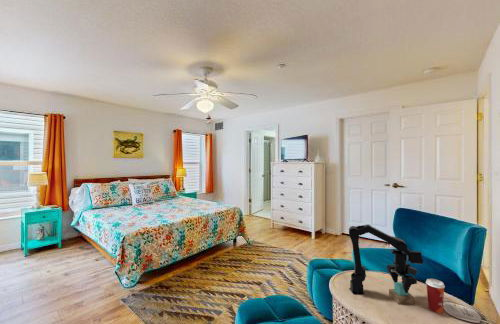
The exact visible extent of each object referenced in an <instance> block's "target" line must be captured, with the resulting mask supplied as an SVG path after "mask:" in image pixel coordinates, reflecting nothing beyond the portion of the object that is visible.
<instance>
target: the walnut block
mask: <svg viewBox="0 0 500 324" xmlns="http://www.w3.org/2000/svg"><path fill="white" fill-rule="evenodd" d="M388 296H389V297H390V298H391V299H392V300H394V301H395V303H396V304H398V305H411V304H412V305H415V296H414V295H412V294H411V293H409V292H408V295H399V294H397V293H396V292H395V291H394V288H389V289H388Z"/></svg>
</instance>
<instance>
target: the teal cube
mask: <svg viewBox="0 0 500 324" xmlns="http://www.w3.org/2000/svg"><path fill="white" fill-rule="evenodd" d="M393 289H394V291H395V292H396V293H397V294H399V295H408V293H409V292H408V293H405V291H404V288H403V284H402V281H398V282H394V281H393Z"/></svg>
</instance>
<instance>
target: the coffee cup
mask: <svg viewBox="0 0 500 324" xmlns="http://www.w3.org/2000/svg"><path fill="white" fill-rule="evenodd" d="M425 284H426V292H427V293H426V294H427V302H428V304H427V305H428V309H429V311H431V312H434V313H436V314H443V312H444V302H445V301H444V297H445V296H444V295H445V288H446V286H445V284H444V282H443V281H441V280H438V279H435V278H427V279H426V281H425Z"/></svg>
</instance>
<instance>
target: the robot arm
mask: <svg viewBox="0 0 500 324" xmlns="http://www.w3.org/2000/svg"><path fill="white" fill-rule="evenodd" d="M368 233H369V234H371V235H372V236H374V237H376V238H378V239H381V240H382V241H384V242H386V243H387V244H389V245H391V246H392V247H393V249H391V250H390V253H391V255H393V254H394V261H393V262H392V264H387V265H386V270H387V272H388V273H389V275H390V277H391V280H392V281H393V283H394V282H399V281H398V280H399V279H398V277H399V276H401V282H402V284H403V288H404V291H405V293H409V290H410V288H411V287H412V285H417V284H418V280H417V279H416V278H415V277H414V276H416V275H417V273H418V270H417V269H416V268H414V267H413V266H411V264H416V265H423V264H424V259H423V256H422V252H421V251H420V250H419V251H418V250H416V251H414V250H410V249H409V248H408V245H407V243H406V242H405V241H404V240H403V239H402V238H399V237H396V236H391V235H389V234H387V233H385V232H384V231H381V230H380V229H378V228H376V227H374V226H372V225H370V224H363V225H357V226H354V225H352V226H349V228H348V235H349V238H350V240H351V241H350V242H351V244H352V250H353V258H354V259H353V260H354V272H352V273H351V274H350V278H351V279H350V280H349V281H350V282H349V284H350V285H349V286H350V287H349V288H348V289H349V291H350V292H351V293H352V294H353V295H364V294H365V292H364V283H363V282H365V280H366V278H367V273H366V267H365V265H363V264H362V259H361V252H360V245H359V243H360V242H359V241H360V236H362V235H364V234H368ZM408 262H409V263H410V264H409V263H408ZM413 275H414V276H413Z"/></svg>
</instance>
